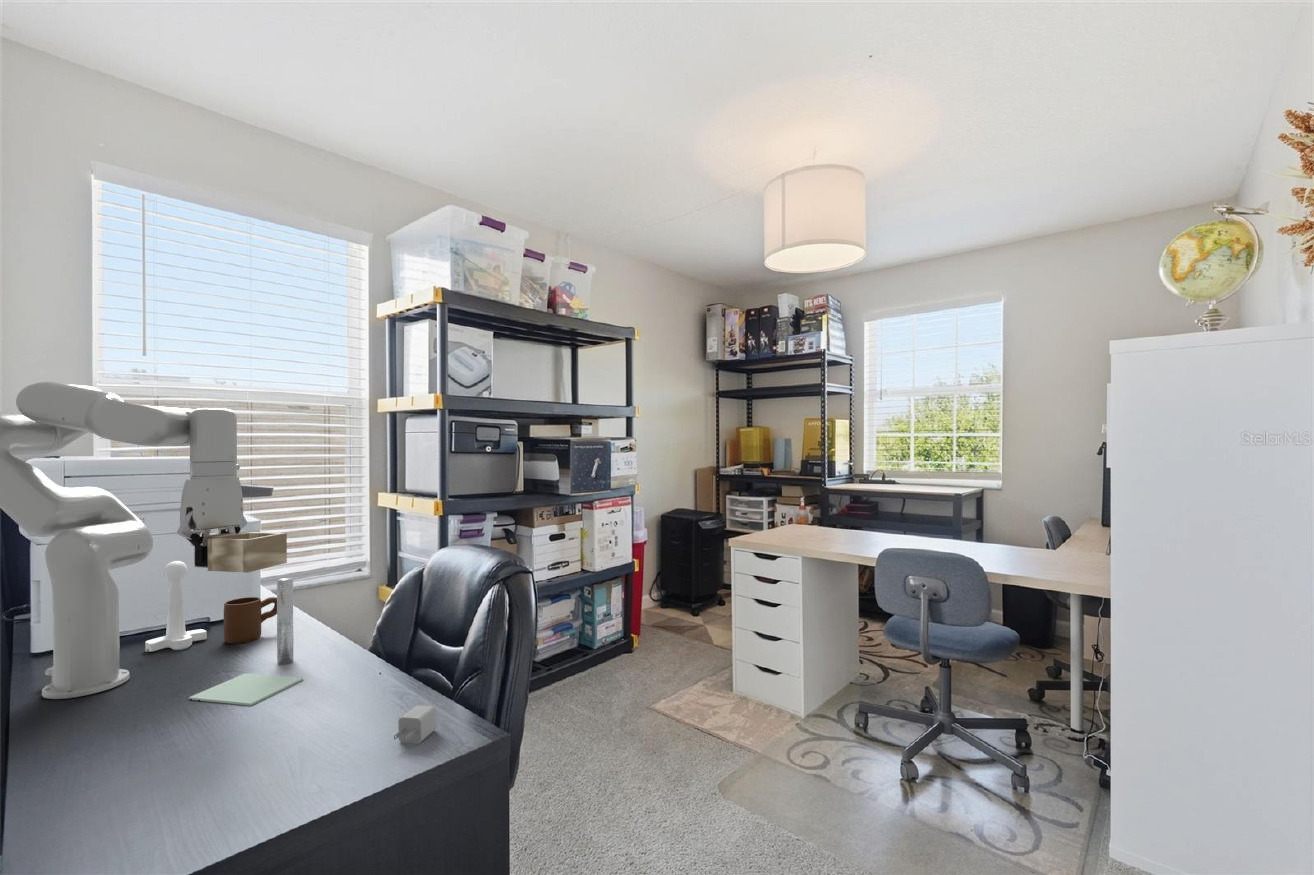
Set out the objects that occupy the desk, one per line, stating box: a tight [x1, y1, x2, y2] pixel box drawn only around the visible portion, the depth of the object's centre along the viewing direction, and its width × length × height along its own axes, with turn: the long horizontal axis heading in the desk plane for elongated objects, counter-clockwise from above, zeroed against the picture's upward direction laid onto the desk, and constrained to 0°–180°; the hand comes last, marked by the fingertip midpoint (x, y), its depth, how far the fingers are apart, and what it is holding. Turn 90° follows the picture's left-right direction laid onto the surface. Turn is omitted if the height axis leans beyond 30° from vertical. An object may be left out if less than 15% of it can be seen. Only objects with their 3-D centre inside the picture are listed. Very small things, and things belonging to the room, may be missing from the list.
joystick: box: [144, 560, 208, 653], centre depth 143 cm, size 11×8×20 cm
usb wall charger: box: [393, 704, 437, 744], centre depth 96 cm, size 4×7×4 cm, turn 170°
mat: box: [188, 672, 304, 707], centre depth 117 cm, size 14×12×1 cm
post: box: [276, 577, 295, 665], centre depth 132 cm, size 3×3×18 cm
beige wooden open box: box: [193, 531, 288, 574], centre depth 118 cm, size 15×9×6 cm, turn 78°
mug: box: [223, 596, 277, 645], centre depth 149 cm, size 12×8×9 cm, turn 134°
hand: (214, 562), depth 119 cm, fingers closed on beige wooden open box, 4 cm apart
